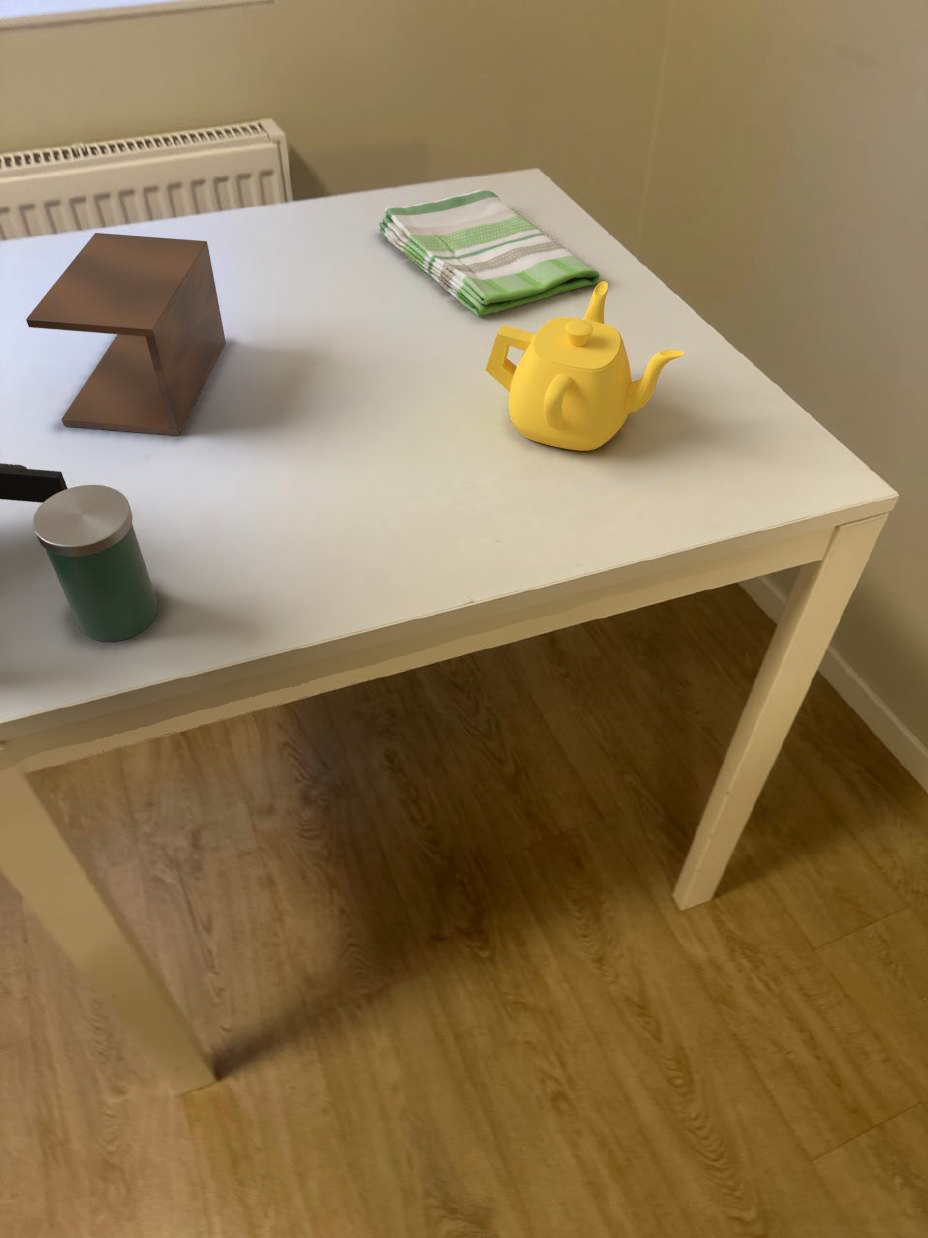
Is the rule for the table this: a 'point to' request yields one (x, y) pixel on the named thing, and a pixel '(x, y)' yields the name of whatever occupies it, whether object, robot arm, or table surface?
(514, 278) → the dish towel
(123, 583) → the tin
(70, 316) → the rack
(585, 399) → the teapot
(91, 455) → the table surface
